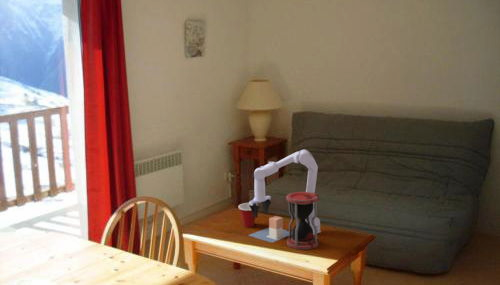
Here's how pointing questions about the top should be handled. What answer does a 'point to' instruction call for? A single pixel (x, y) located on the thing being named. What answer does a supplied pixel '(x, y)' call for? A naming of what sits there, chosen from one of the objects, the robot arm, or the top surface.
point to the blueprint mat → (265, 235)
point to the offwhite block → (275, 232)
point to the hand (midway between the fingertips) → (260, 215)
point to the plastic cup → (247, 215)
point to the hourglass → (302, 220)
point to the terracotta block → (276, 222)
